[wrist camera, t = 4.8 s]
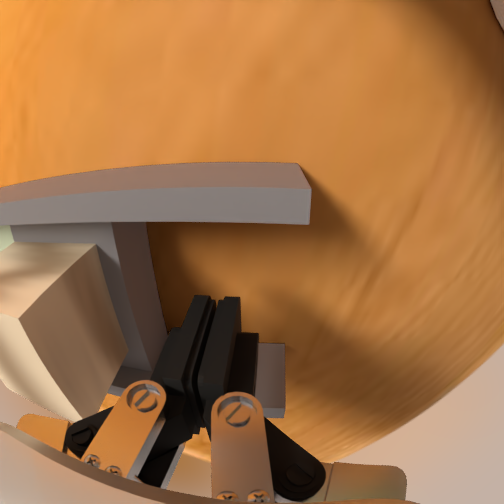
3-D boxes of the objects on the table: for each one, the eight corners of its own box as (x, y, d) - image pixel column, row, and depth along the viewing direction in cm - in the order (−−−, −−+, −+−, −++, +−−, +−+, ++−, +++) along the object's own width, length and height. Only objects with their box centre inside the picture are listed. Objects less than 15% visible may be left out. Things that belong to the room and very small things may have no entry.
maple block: (95, 243, 10) (18, 318, 6) (128, 350, 13) (90, 427, 8) (14, 241, 11) (-50, 292, 6) (49, 331, 13) (7, 388, 9)
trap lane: (297, 163, 11) (311, 189, 7) (283, 355, 16) (283, 418, 12) (-45, 200, 13) (-79, 220, 9) (-11, 305, 18) (-36, 331, 14)
